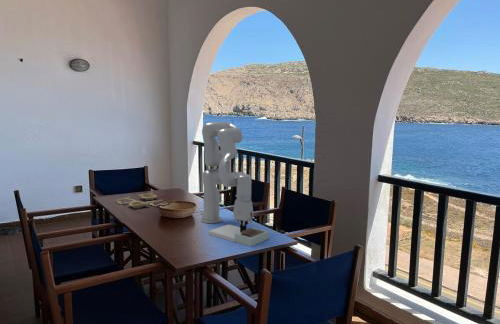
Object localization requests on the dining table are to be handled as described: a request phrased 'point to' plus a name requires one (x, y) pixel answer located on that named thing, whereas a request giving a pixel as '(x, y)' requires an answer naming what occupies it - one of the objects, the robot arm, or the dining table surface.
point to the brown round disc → (249, 233)
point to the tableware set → (140, 204)
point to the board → (226, 232)
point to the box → (253, 240)
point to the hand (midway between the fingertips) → (243, 232)
